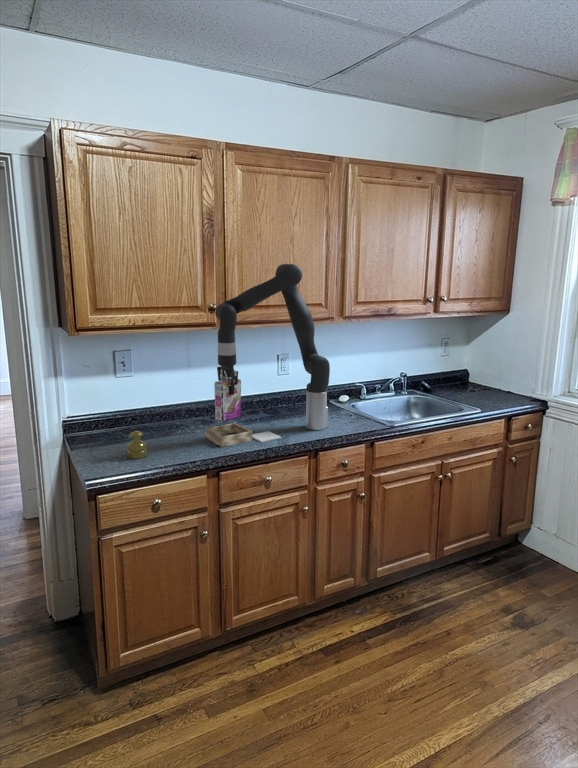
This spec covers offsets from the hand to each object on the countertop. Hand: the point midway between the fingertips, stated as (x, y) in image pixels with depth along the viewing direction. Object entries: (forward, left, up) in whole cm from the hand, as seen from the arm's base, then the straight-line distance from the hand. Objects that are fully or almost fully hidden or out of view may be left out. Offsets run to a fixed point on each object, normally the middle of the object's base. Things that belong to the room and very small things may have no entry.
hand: (228, 392), depth 220 cm
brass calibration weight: (+39, -2, -20) cm, 44 cm away
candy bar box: (0, 0, -11) cm, 11 cm away
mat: (-14, +7, -20) cm, 25 cm away
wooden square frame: (0, 0, -20) cm, 20 cm away
